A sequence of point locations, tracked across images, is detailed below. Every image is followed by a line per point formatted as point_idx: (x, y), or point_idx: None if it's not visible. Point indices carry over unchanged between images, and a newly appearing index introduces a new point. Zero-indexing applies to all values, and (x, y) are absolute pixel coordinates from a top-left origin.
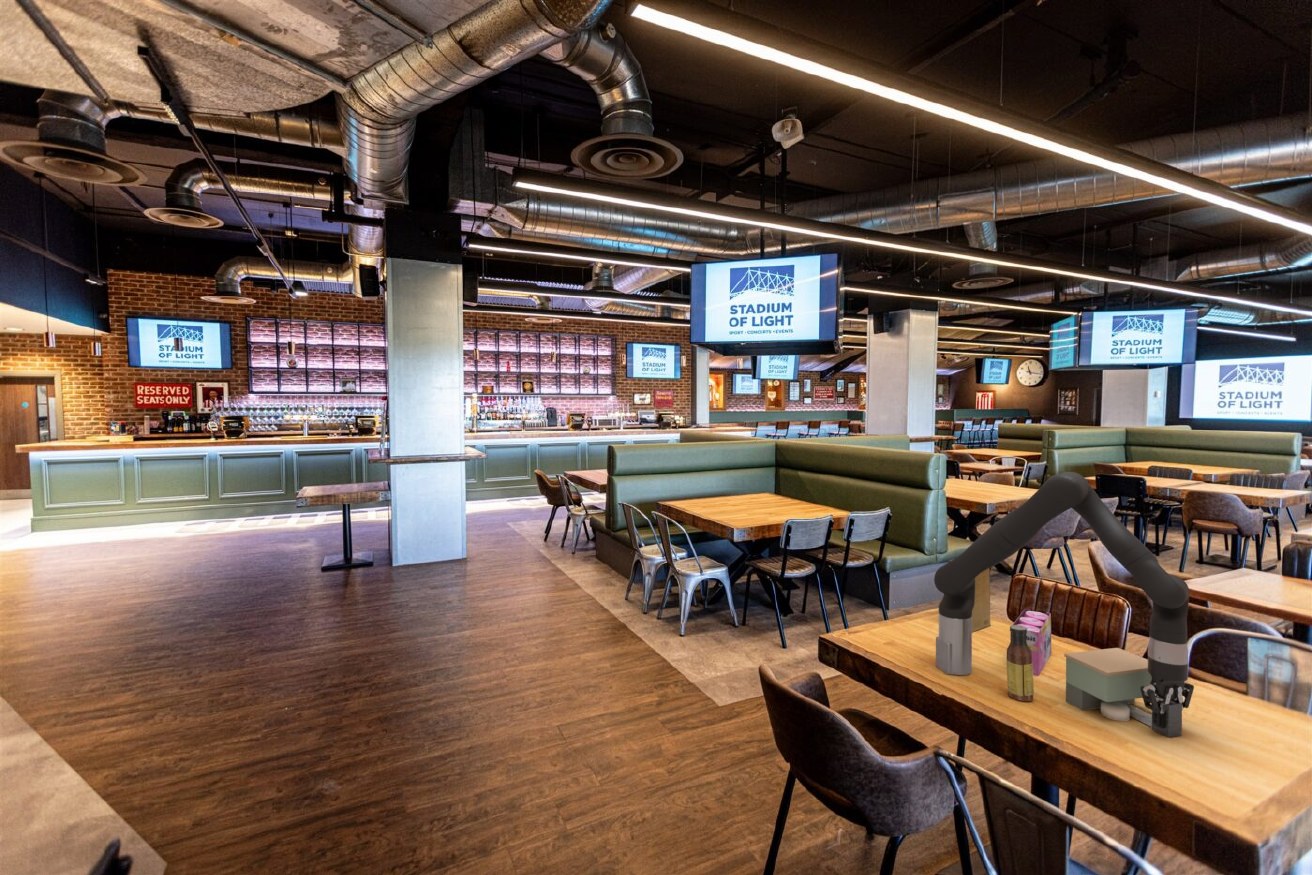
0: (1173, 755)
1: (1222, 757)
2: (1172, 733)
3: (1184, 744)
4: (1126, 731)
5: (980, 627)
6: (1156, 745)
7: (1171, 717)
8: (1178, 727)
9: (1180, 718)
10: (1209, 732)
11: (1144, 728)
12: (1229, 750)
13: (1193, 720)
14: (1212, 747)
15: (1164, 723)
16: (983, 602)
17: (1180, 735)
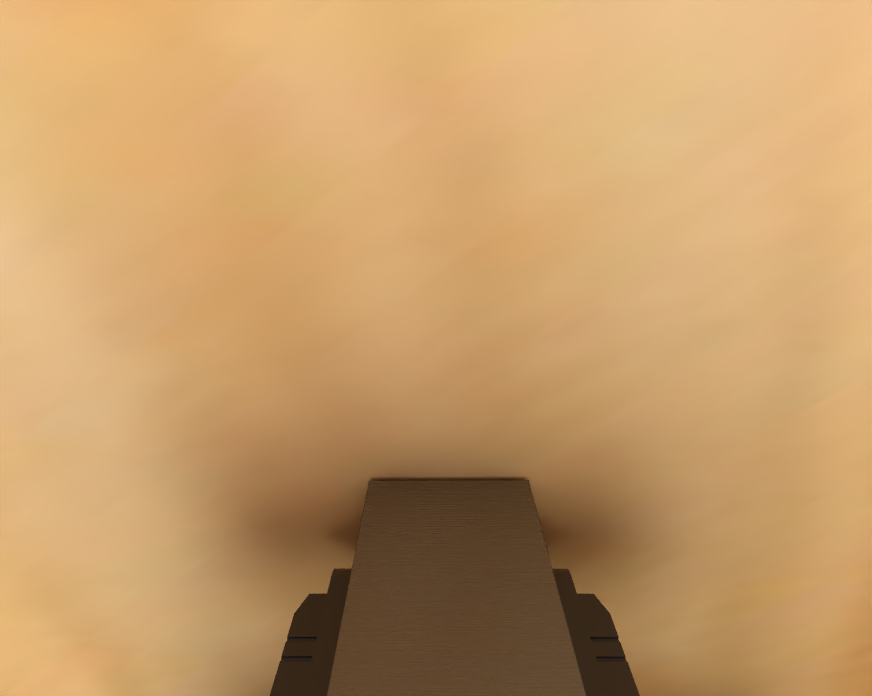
0: (861, 230)
1: (374, 59)
2: (483, 501)
3: (503, 365)
4: (751, 607)
5: None
6: (785, 408)
7: (527, 669)
8: (400, 543)
9: (361, 636)
10: (43, 469)
11: None
12: (140, 167)
13: (20, 620)
14: (274, 260)
15: None
16: None
17: (380, 481)
